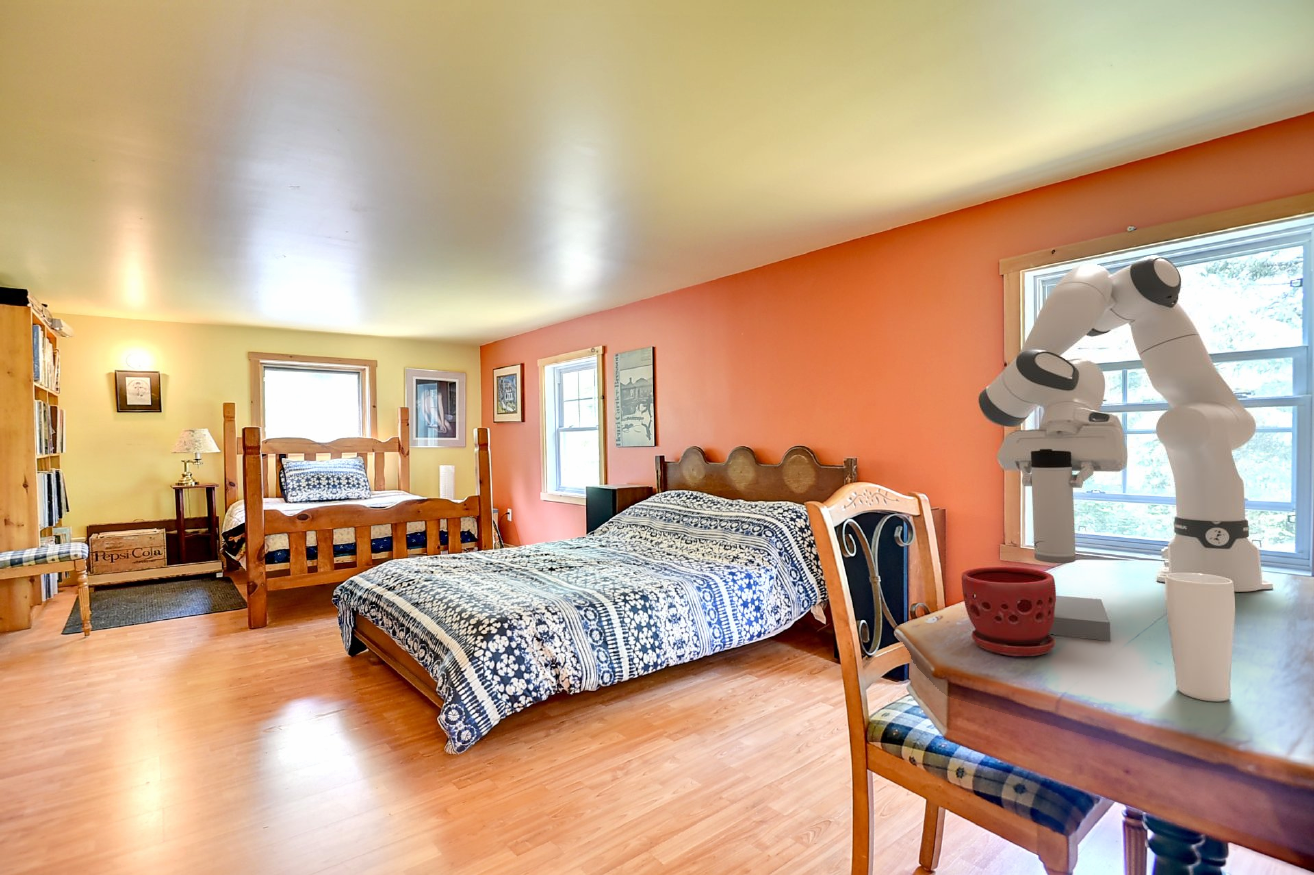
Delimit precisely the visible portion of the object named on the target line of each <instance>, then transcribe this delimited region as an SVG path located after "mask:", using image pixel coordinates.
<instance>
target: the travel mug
mask: <svg viewBox="0 0 1314 875" xmlns="http://www.w3.org/2000/svg"><path fill="white" fill-rule="evenodd" d="M1071 461H1072V460H1071V452H1070V451H1052V449H1040V451H1031V462H1032V464H1031V470H1032V471H1031V473H1030V474H1031V479H1032V486H1031V496H1032V498H1031V501H1032V503H1031V504H1032V525H1033V526H1032V527H1033V529H1032V530H1033V548H1034V552H1033V553H1034V559H1035V560H1037V561H1039V562H1043V563H1050V564H1070V563H1074V562H1076V559H1077V557H1076V555H1077V554H1076V536H1075V534H1076V533H1075V532H1076V530H1075V509H1074V507H1075V506H1074V505H1075V504H1074V503H1075V502H1074V488H1072V487H1071V485H1070V479H1071V475H1073V471H1071V470H1072V463H1071Z"/></svg>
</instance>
